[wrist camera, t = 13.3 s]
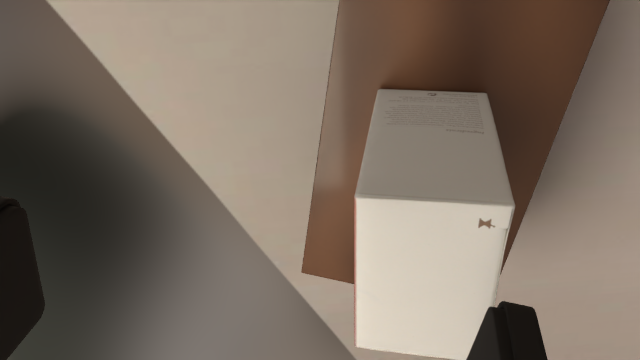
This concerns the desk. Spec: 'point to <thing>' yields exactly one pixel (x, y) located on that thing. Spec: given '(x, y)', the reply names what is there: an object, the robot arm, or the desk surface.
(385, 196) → the small box
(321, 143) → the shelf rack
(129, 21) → the desk surface
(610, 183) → the desk surface
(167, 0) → the desk surface
